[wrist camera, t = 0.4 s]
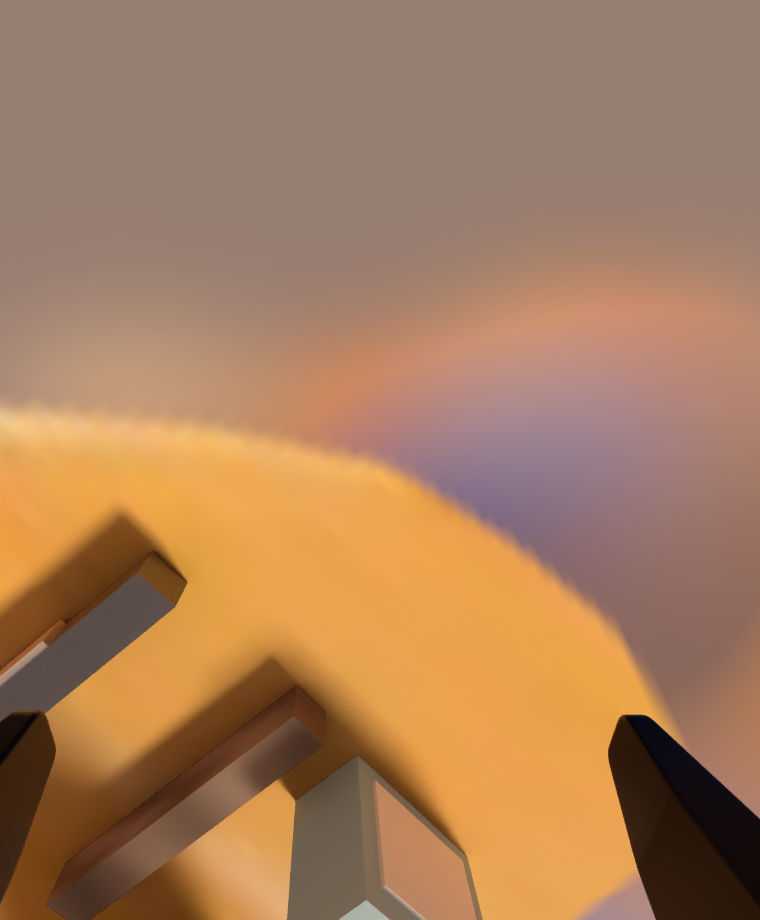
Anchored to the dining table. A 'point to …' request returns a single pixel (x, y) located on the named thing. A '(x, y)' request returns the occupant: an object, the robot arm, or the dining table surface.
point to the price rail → (89, 637)
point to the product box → (373, 856)
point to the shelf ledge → (190, 806)
